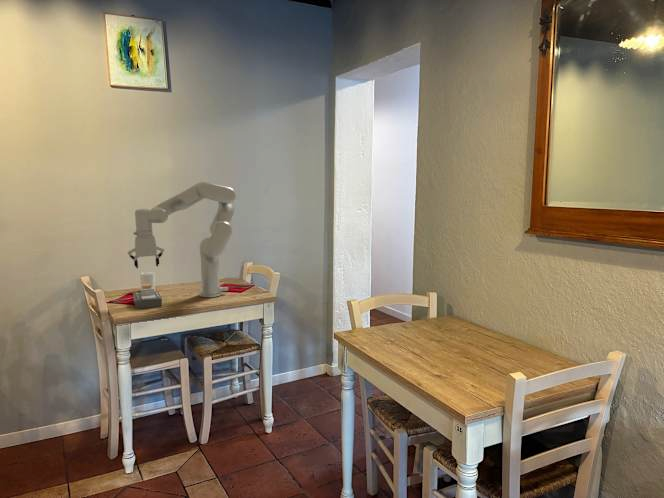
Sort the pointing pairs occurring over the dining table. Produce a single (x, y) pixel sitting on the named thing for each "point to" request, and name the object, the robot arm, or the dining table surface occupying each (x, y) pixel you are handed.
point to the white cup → (148, 278)
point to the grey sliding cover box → (147, 301)
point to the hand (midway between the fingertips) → (147, 266)
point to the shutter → (147, 294)
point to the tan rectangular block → (146, 286)
